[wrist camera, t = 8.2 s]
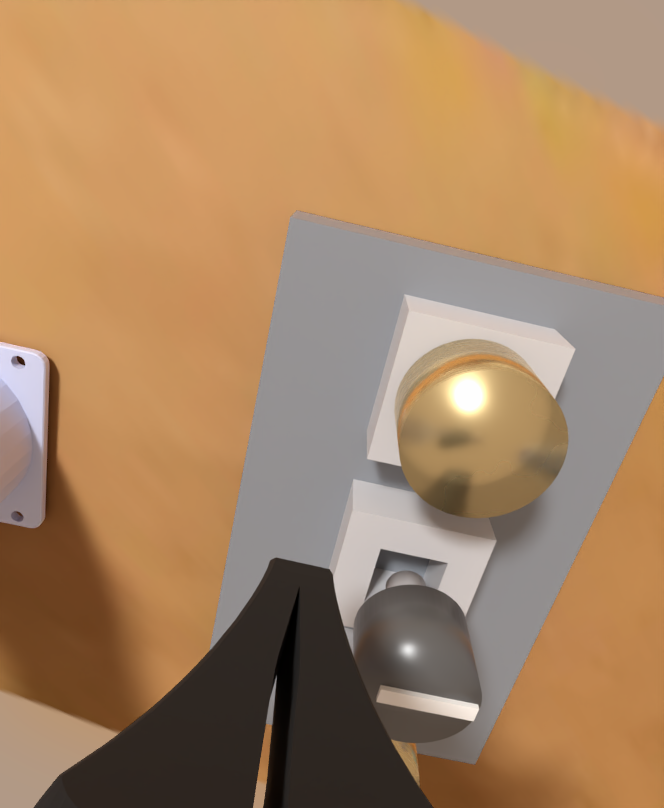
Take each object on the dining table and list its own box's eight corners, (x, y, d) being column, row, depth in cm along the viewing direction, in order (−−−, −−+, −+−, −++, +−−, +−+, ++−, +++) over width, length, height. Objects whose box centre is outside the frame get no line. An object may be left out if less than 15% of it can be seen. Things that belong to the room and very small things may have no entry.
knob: (377, 427, 21) (381, 499, 16) (411, 306, 19) (425, 352, 15) (498, 454, 21) (533, 532, 17) (543, 337, 19) (595, 391, 15)
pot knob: (344, 614, 21) (339, 734, 17) (367, 534, 20) (369, 643, 16) (440, 634, 22) (460, 757, 17) (471, 556, 20) (501, 669, 16)
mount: (208, 674, 29) (186, 751, 25) (296, 210, 20) (282, 225, 16) (467, 725, 29) (482, 808, 26) (664, 297, 21) (730, 331, 17)
